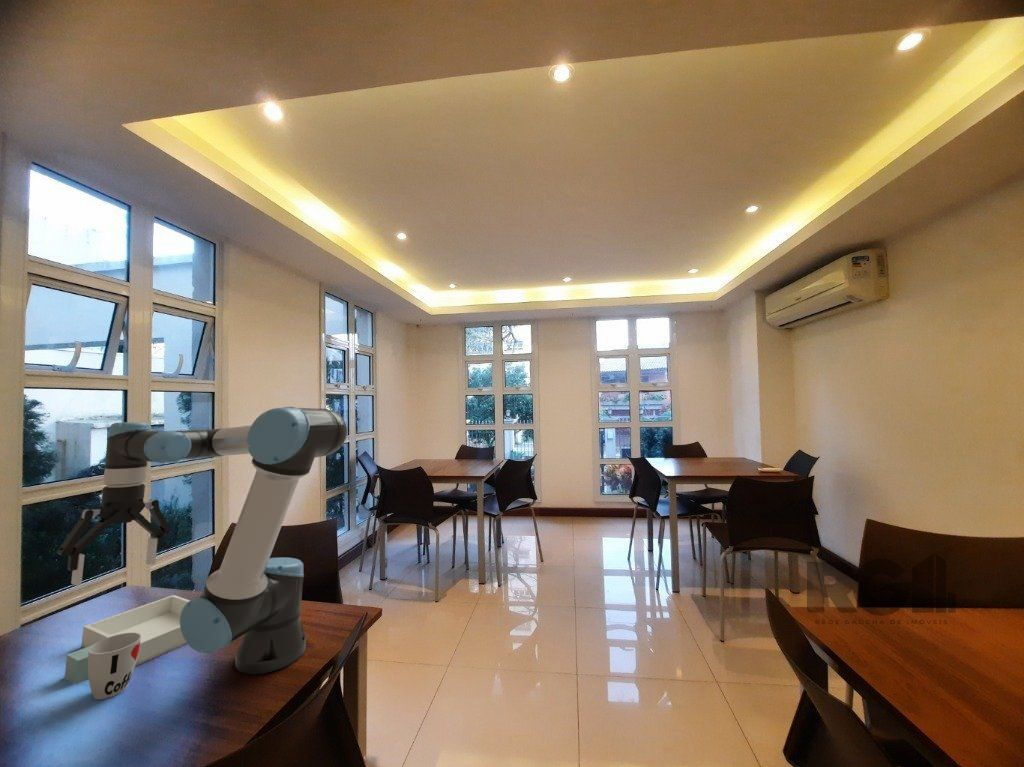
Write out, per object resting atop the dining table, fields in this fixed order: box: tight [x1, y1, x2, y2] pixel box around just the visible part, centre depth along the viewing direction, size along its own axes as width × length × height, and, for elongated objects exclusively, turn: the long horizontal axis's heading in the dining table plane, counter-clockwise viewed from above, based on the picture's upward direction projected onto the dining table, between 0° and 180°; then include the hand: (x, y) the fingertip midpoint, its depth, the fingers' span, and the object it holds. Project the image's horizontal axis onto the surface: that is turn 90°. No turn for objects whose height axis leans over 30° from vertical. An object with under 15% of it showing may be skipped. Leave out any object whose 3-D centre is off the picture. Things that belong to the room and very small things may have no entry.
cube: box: [63, 645, 92, 685], centre depth 90 cm, size 5×5×5 cm
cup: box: [88, 632, 141, 700], centre depth 85 cm, size 8×8×10 cm
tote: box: [80, 594, 191, 668], centre depth 105 cm, size 22×20×5 cm
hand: (115, 573), depth 95 cm, fingers open, 13 cm apart
